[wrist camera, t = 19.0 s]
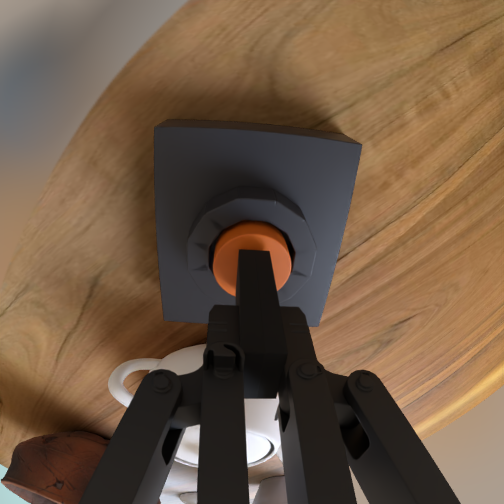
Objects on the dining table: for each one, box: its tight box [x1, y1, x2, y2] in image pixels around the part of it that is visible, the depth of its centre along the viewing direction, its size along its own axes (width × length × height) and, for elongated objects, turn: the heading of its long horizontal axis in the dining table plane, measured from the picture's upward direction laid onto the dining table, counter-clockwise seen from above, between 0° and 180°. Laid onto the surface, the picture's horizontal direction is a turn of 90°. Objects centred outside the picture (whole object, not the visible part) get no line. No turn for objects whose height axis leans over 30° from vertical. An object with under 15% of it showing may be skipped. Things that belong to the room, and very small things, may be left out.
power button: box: [213, 220, 291, 296], centre depth 17 cm, size 4×4×2 cm
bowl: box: [1, 431, 161, 504], centre depth 33 cm, size 25×25×15 cm
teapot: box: [108, 344, 283, 468], centre depth 25 cm, size 22×14×11 cm, turn 46°
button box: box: [154, 120, 362, 327], centre depth 19 cm, size 13×11×5 cm
